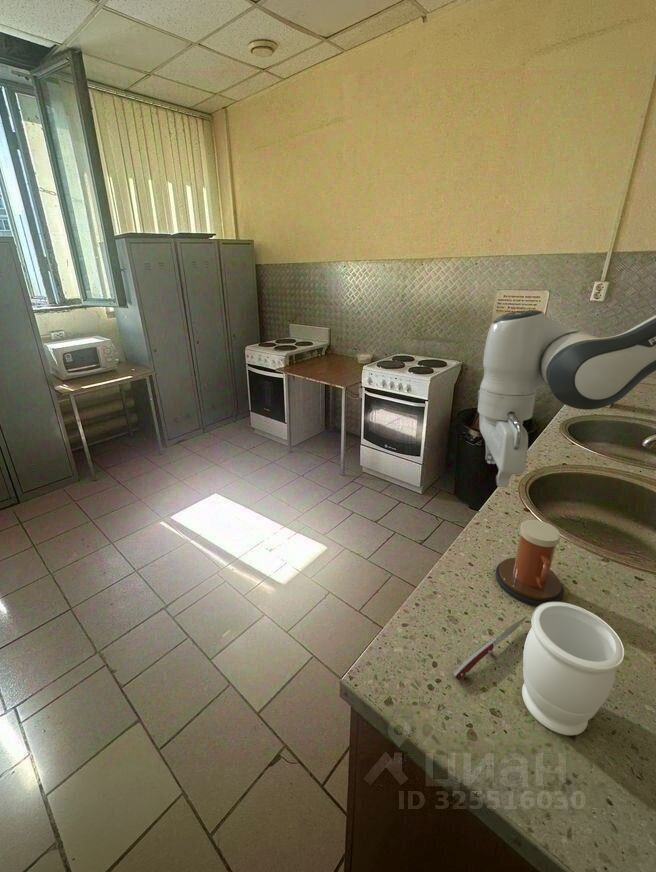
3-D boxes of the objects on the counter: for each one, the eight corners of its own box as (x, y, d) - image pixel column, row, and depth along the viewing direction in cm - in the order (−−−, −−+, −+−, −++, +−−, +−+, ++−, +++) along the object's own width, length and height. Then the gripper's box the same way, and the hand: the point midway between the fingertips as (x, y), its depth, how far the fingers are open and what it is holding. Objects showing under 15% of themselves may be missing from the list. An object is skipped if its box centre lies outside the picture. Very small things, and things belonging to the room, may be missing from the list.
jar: (531, 659, 65) (549, 589, 60) (606, 708, 58) (634, 634, 53) (501, 702, 59) (518, 628, 54) (581, 764, 52) (610, 686, 46)
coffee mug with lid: (492, 558, 86) (501, 511, 82) (547, 562, 84) (559, 515, 80) (508, 597, 76) (519, 546, 72) (571, 603, 74) (586, 551, 70)
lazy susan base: (547, 565, 85) (548, 561, 85) (573, 610, 74) (575, 606, 74) (488, 560, 87) (489, 556, 87) (505, 603, 76) (506, 599, 76)
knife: (456, 687, 62) (458, 673, 60) (449, 680, 63) (451, 667, 61) (528, 625, 71) (531, 613, 70) (521, 620, 72) (524, 608, 71)
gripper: (544, 425, 60) (530, 504, 65) (510, 389, 79) (501, 452, 83) (499, 423, 62) (488, 500, 66) (476, 388, 80) (469, 450, 85)
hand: (495, 473), depth 75 cm, fingers open, 8 cm apart
